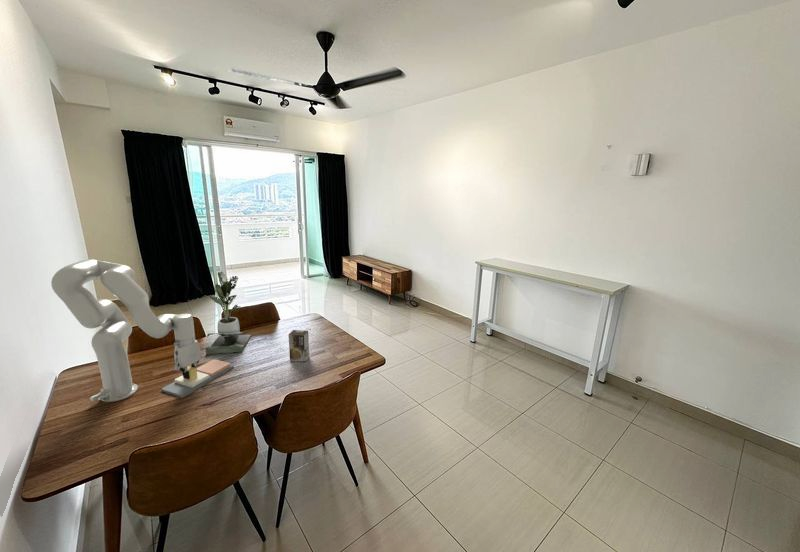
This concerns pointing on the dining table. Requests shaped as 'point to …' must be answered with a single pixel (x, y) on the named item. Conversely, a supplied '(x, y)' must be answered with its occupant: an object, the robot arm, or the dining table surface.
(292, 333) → the coffee box
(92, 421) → the dining table surface
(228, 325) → the potted plant
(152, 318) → the robot arm
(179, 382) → the butter dish
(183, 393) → the board
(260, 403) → the dining table surface
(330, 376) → the dining table surface
